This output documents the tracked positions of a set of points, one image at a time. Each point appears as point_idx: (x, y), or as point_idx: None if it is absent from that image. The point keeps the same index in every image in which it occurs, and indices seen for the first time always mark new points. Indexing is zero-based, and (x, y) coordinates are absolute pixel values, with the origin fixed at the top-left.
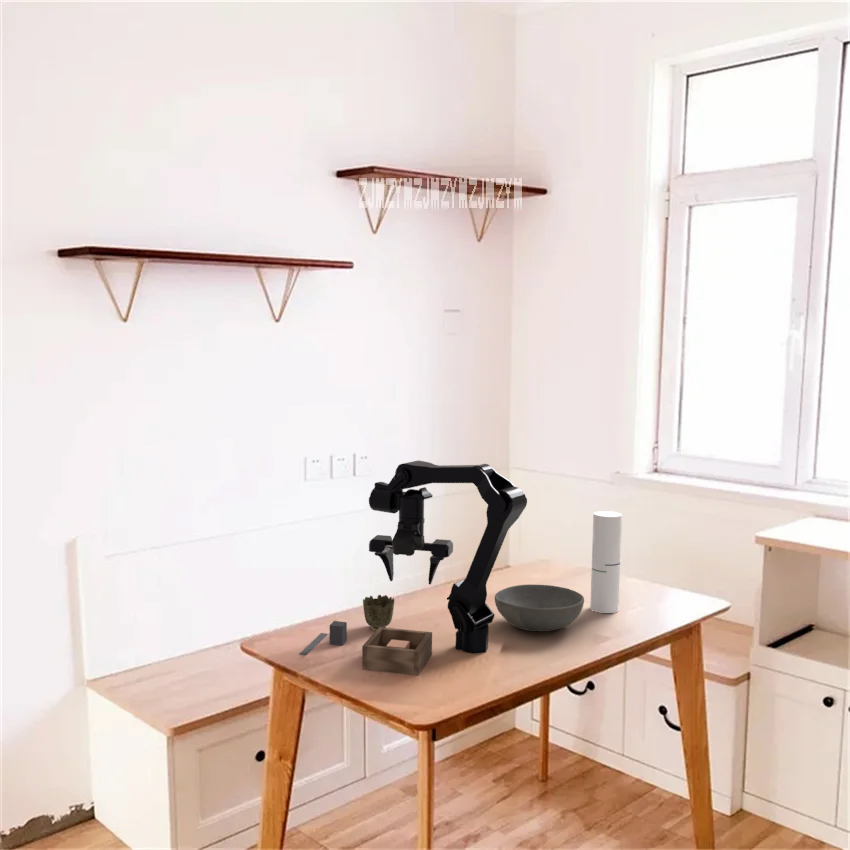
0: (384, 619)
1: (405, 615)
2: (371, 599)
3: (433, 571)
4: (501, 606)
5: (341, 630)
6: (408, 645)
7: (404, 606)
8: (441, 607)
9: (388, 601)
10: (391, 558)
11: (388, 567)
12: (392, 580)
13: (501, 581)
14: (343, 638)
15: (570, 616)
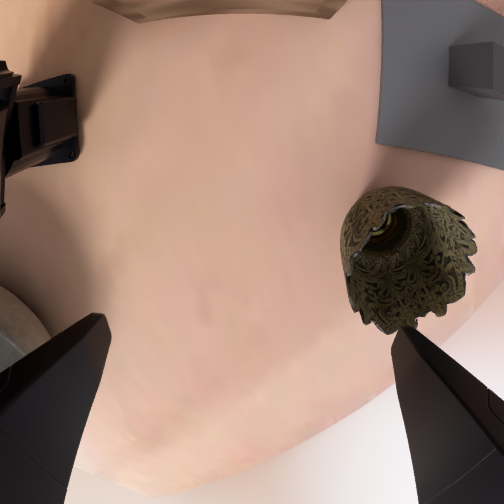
0: (366, 199)
1: (308, 354)
2: (436, 303)
3: (10, 366)
4: (7, 322)
5: (485, 43)
6: None
7: (317, 396)
8: (230, 403)
9: (371, 311)
10: (443, 491)
11: (471, 397)
12: (393, 341)
13: (173, 472)
14: (464, 54)
15: None
